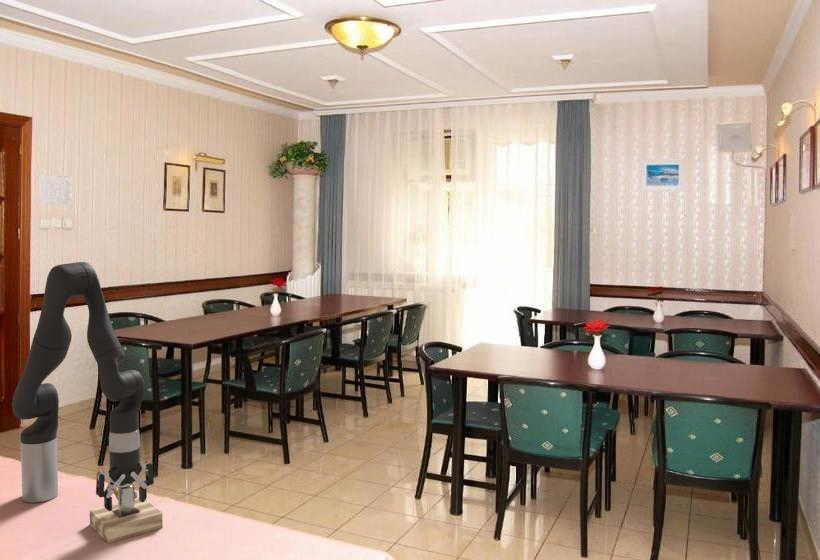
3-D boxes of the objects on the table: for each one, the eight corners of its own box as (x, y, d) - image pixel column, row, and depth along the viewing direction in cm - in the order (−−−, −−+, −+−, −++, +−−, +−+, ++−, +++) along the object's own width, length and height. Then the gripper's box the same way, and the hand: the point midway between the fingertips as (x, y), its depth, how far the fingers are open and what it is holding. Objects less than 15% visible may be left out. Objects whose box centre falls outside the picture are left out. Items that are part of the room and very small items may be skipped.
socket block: (89, 524, 183) (89, 510, 182) (142, 510, 192) (142, 496, 192) (108, 543, 172) (107, 528, 172) (162, 527, 182) (162, 513, 181)
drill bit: (142, 510, 193) (117, 494, 187) (126, 515, 195) (101, 500, 188) (145, 493, 197) (121, 477, 191) (130, 499, 199) (106, 483, 192)
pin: (116, 522, 182) (115, 485, 182) (131, 517, 185) (131, 482, 184) (121, 527, 179) (121, 490, 179) (137, 523, 182) (136, 486, 181)
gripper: (146, 437, 188) (146, 494, 189) (91, 448, 178) (93, 508, 180) (157, 444, 182) (157, 503, 184) (101, 456, 173) (102, 518, 174)
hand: (125, 505), depth 182 cm, fingers open, 8 cm apart
